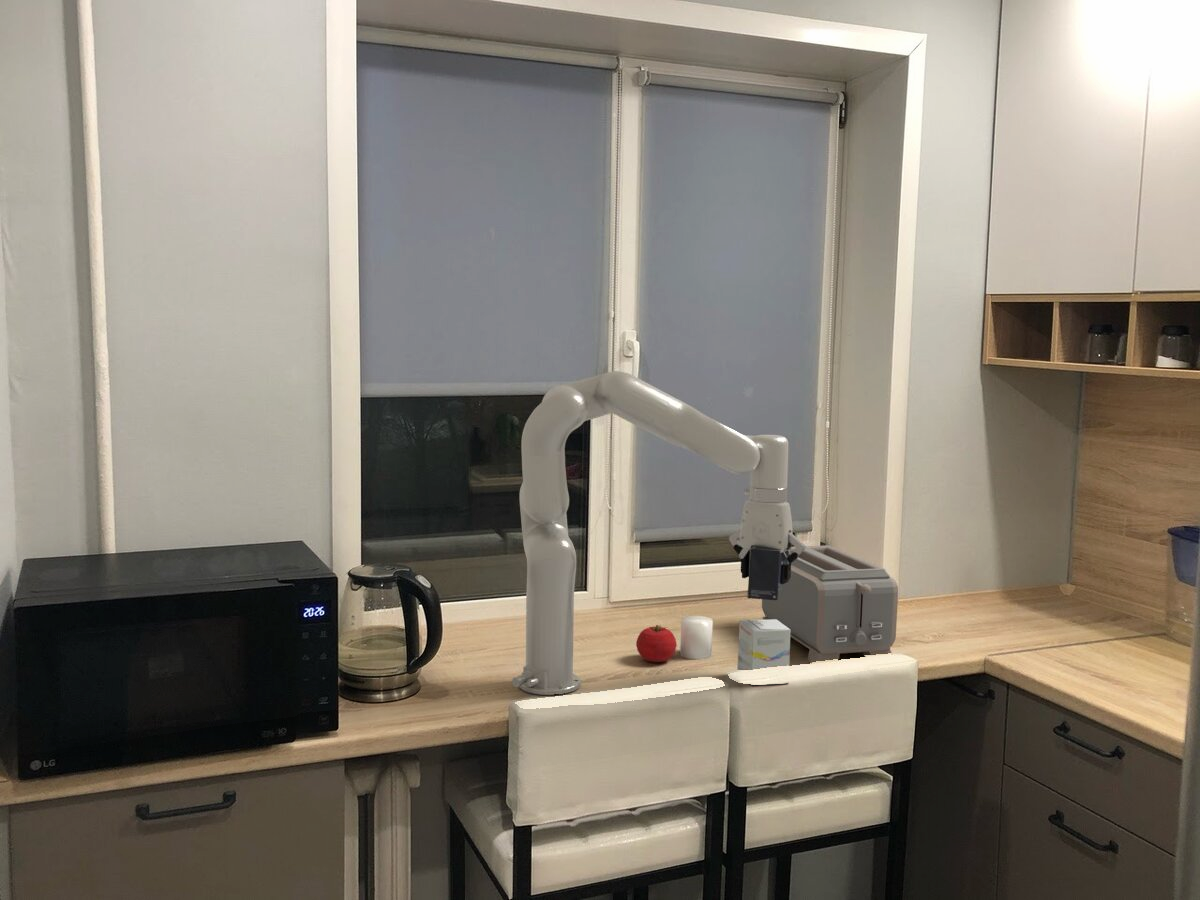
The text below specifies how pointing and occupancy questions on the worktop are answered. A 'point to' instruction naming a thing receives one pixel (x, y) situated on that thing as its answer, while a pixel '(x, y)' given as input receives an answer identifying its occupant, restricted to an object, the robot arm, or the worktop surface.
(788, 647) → the ink box
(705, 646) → the white capsule cylinder
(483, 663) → the worktop surface
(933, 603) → the worktop surface
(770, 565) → the small box
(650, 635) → the tomato
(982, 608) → the worktop surface
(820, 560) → the toaster
